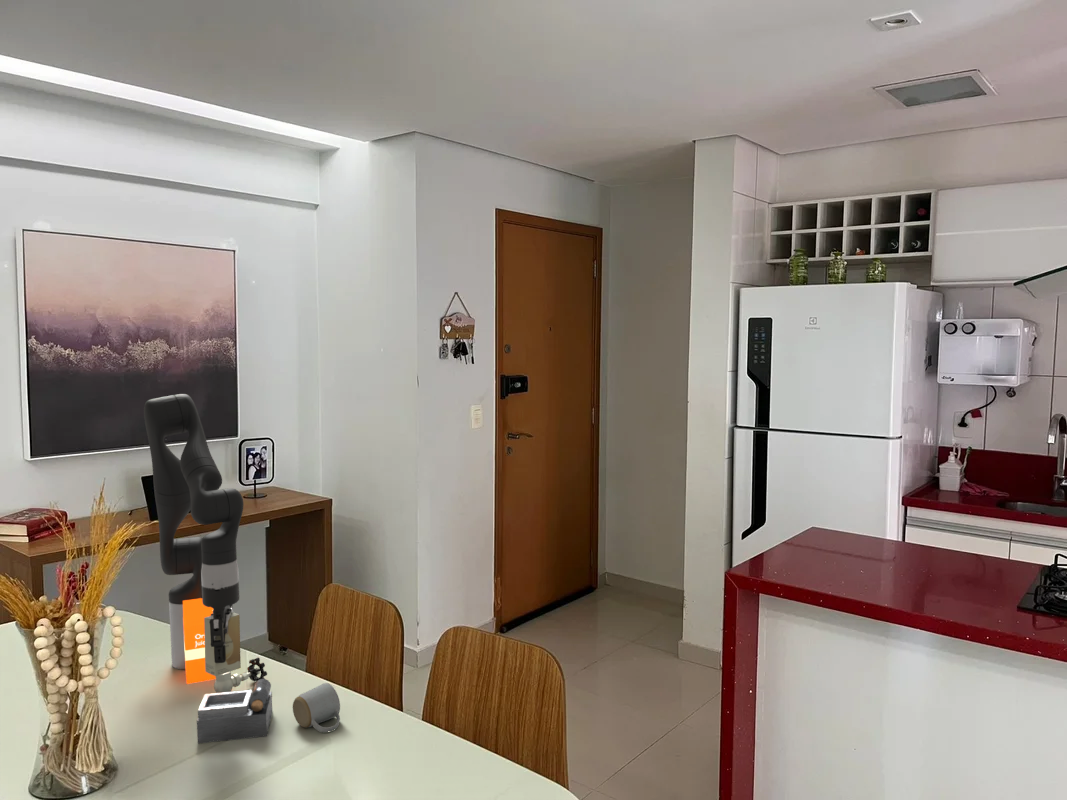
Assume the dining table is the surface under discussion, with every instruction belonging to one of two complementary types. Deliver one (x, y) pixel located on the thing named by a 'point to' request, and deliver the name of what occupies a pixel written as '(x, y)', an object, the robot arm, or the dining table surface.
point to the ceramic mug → (317, 707)
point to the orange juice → (195, 640)
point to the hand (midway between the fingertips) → (223, 655)
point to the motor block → (235, 714)
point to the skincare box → (231, 648)
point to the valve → (239, 677)
